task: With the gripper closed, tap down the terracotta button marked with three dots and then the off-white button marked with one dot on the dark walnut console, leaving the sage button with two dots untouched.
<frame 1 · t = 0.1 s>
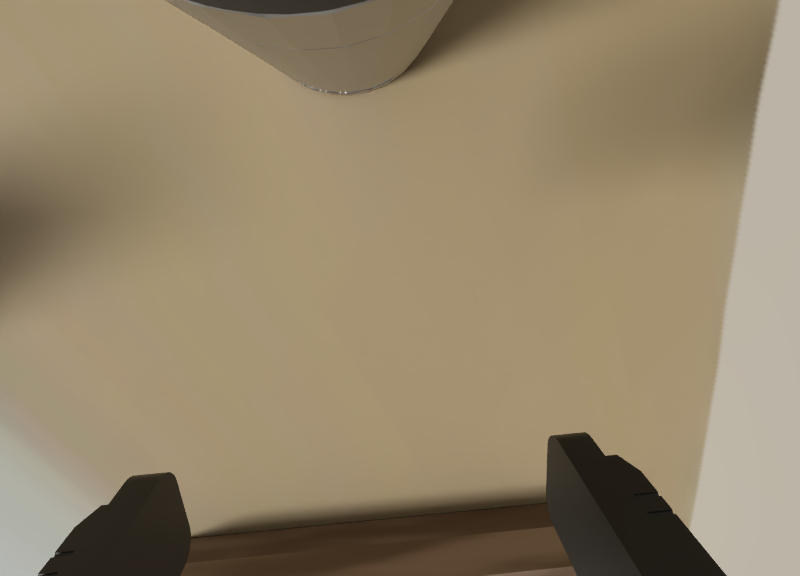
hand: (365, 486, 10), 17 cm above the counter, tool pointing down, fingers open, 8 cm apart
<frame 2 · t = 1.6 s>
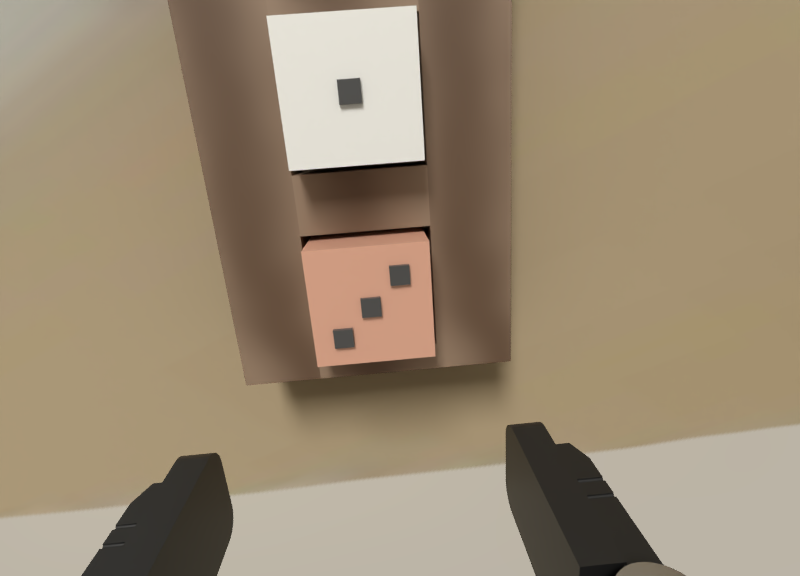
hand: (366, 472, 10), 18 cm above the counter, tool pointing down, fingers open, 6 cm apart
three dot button: (371, 294, 22), point 5 cm above the counter, slide at 0.0 cm
one dot button: (351, 96, 19), point 5 cm above the counter, slide at 0.0 cm
console: (356, 106, 24), on the counter
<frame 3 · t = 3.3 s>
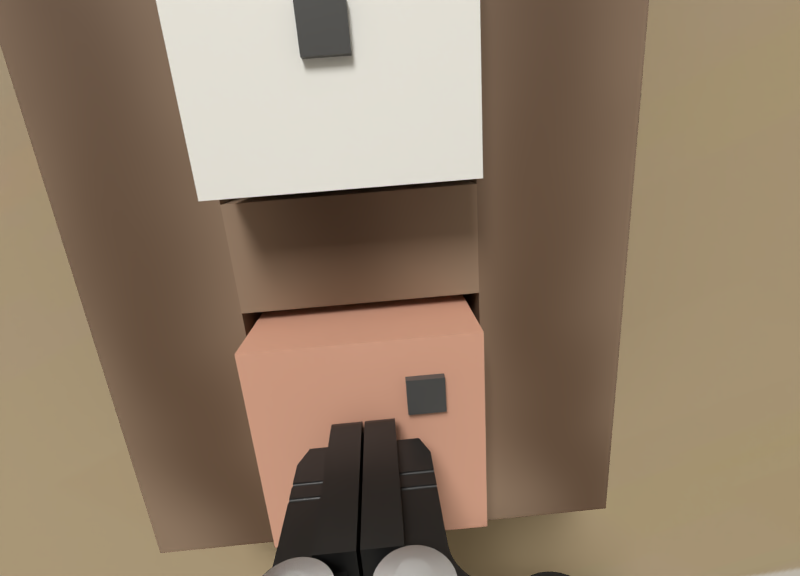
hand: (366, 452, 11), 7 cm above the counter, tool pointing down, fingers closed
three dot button: (372, 409, 12), point 5 cm above the counter, slide at 0.2 cm, touching gripper
one dot button: (332, 48, 9), point 5 cm above the counter, slide at 0.0 cm
console: (347, 82, 15), on the counter
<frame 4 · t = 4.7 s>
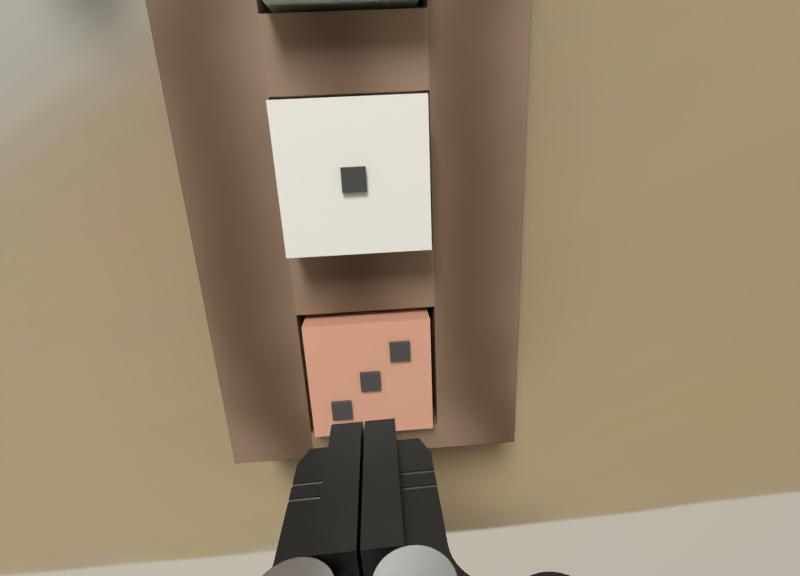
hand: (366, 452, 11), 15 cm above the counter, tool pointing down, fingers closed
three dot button: (370, 363, 22), point 4 cm above the counter, slide at 1.3 cm
one dot button: (355, 176, 18), point 5 cm above the counter, slide at 0.0 cm
console: (359, 169, 23), on the counter
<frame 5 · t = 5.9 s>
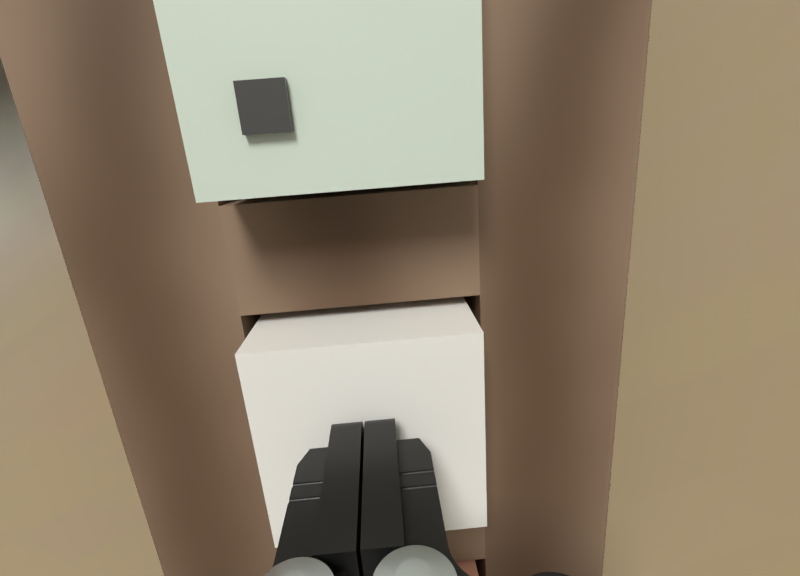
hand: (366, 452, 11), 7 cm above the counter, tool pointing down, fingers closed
one dot button: (372, 409, 12), point 5 cm above the counter, slide at 0.3 cm, touching gripper
two dot button: (332, 48, 9), point 5 cm above the counter, slide at 0.0 cm
console: (373, 336, 17), on the counter
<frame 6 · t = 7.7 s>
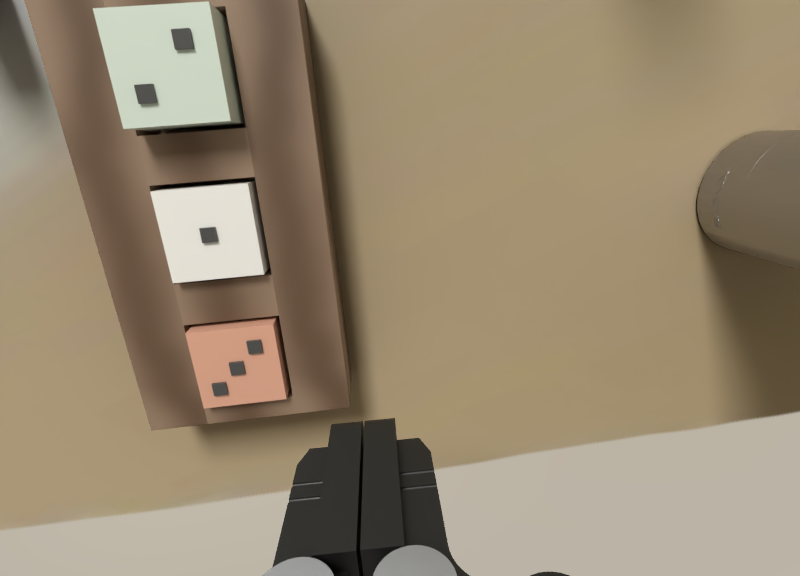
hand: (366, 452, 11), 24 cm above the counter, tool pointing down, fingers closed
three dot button: (243, 356, 31), point 4 cm above the counter, slide at 1.3 cm
one dot button: (217, 229, 28), point 4 cm above the counter, slide at 1.3 cm
two dot button: (177, 72, 24), point 5 cm above the counter, slide at 0.0 cm
console: (234, 219, 32), on the counter
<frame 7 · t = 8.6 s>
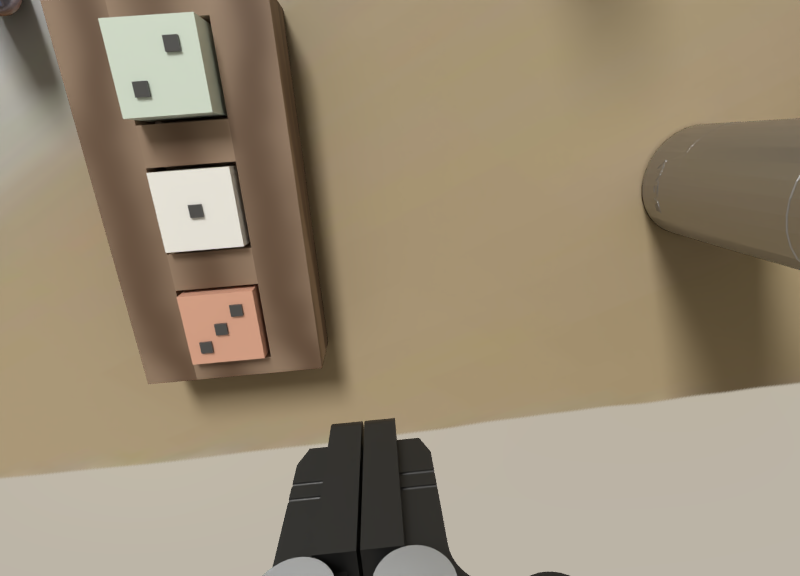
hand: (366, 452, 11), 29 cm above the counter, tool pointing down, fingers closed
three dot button: (228, 320, 36), point 4 cm above the counter, slide at 1.3 cm
one dot button: (205, 207, 33), point 4 cm above the counter, slide at 1.3 cm
two dot button: (169, 71, 29), point 5 cm above the counter, slide at 0.0 cm
console: (222, 201, 37), on the counter
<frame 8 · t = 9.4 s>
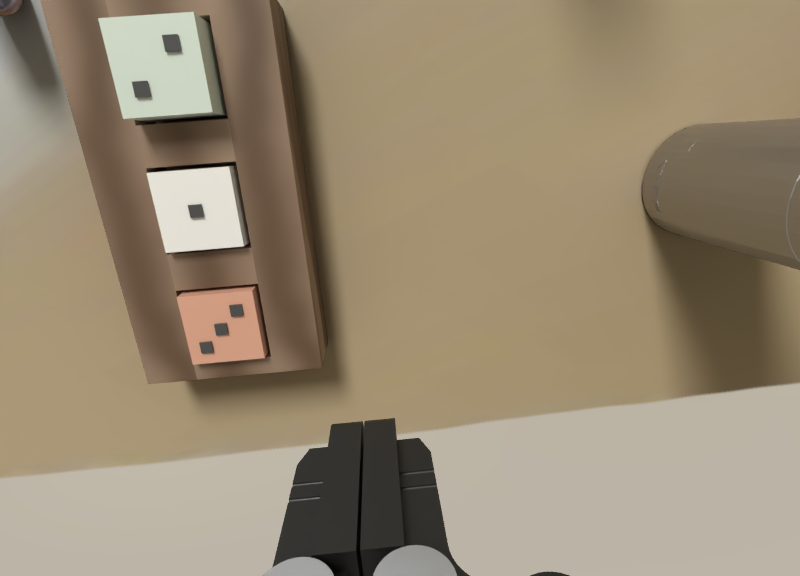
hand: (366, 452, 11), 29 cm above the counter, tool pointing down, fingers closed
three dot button: (228, 320, 36), point 4 cm above the counter, slide at 1.3 cm
one dot button: (205, 207, 33), point 4 cm above the counter, slide at 1.3 cm
two dot button: (169, 71, 29), point 5 cm above the counter, slide at 0.0 cm
console: (222, 201, 37), on the counter
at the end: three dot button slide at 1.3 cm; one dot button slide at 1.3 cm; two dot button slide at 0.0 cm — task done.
